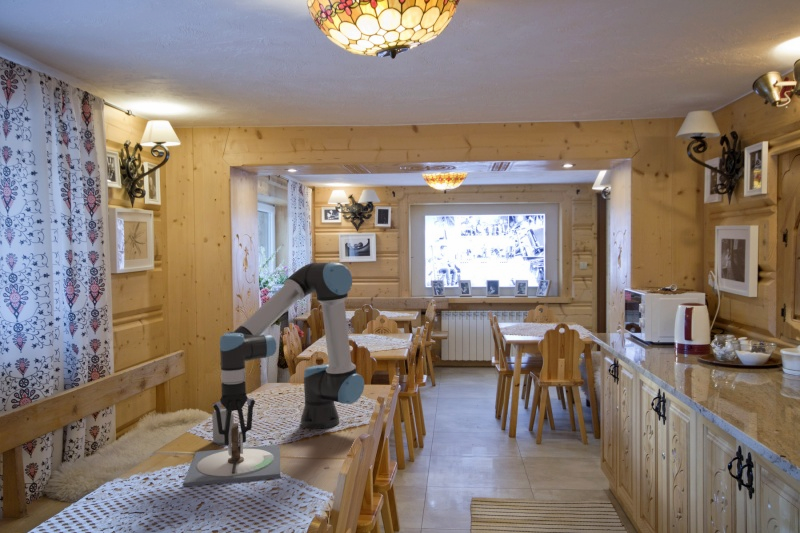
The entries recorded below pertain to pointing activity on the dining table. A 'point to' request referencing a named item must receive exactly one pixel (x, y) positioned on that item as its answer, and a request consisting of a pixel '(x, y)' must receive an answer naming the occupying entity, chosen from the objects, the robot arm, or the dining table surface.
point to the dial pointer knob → (235, 448)
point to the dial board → (254, 467)
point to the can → (220, 437)
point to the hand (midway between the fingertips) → (235, 453)
